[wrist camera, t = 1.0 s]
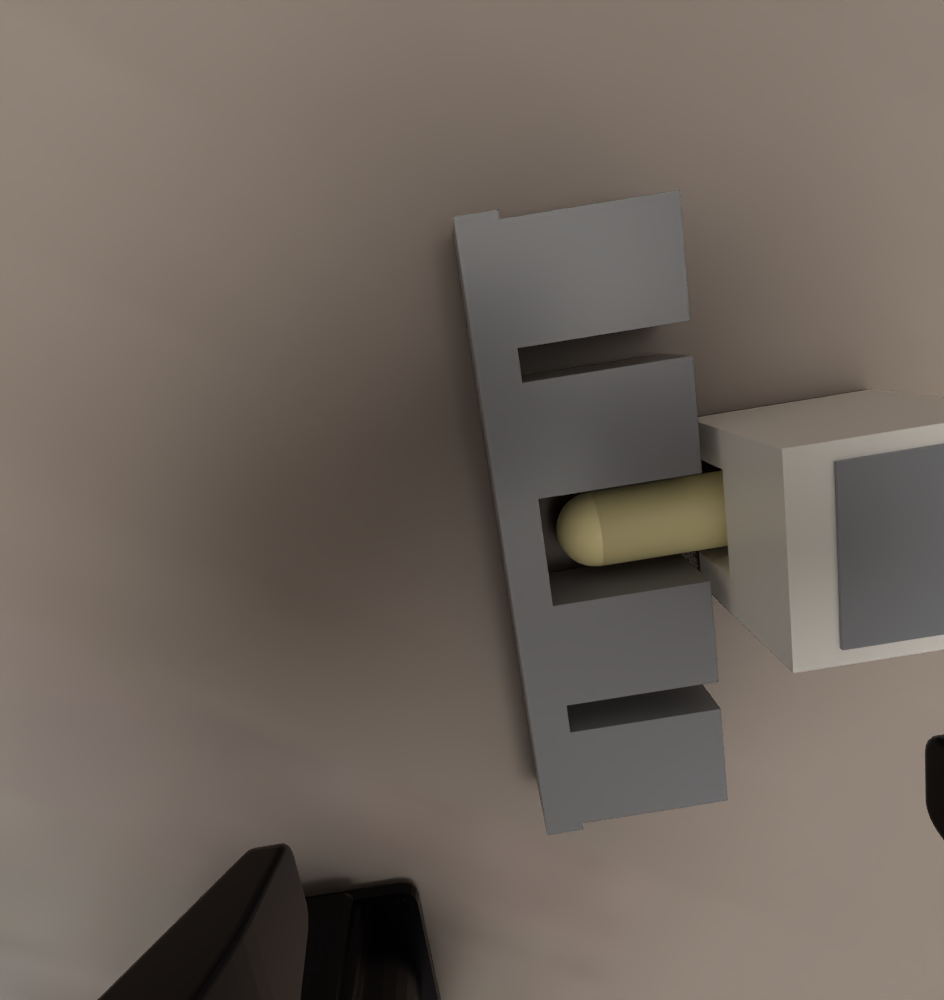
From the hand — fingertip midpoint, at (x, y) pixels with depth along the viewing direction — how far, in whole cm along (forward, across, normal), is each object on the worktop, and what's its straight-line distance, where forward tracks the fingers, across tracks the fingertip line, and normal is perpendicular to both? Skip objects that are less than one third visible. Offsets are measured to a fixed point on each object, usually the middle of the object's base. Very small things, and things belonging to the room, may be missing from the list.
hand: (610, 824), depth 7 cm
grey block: (+12, -8, 0) cm, 14 cm away
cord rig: (+12, -11, 0) cm, 16 cm away
